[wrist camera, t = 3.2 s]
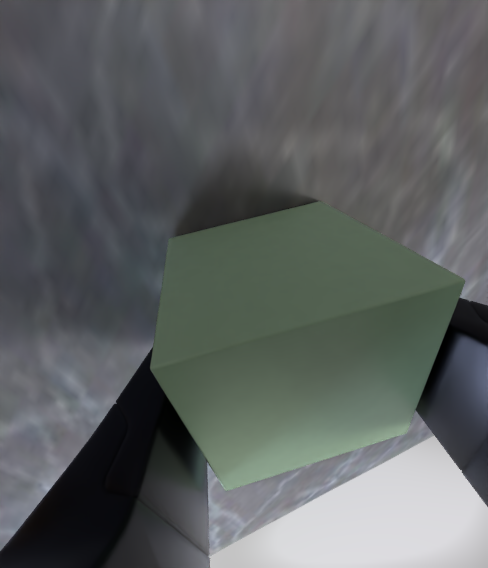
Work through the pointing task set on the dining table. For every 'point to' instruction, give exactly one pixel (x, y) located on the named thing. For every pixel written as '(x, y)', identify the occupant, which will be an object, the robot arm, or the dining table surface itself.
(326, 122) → the dining table surface
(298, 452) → the block
